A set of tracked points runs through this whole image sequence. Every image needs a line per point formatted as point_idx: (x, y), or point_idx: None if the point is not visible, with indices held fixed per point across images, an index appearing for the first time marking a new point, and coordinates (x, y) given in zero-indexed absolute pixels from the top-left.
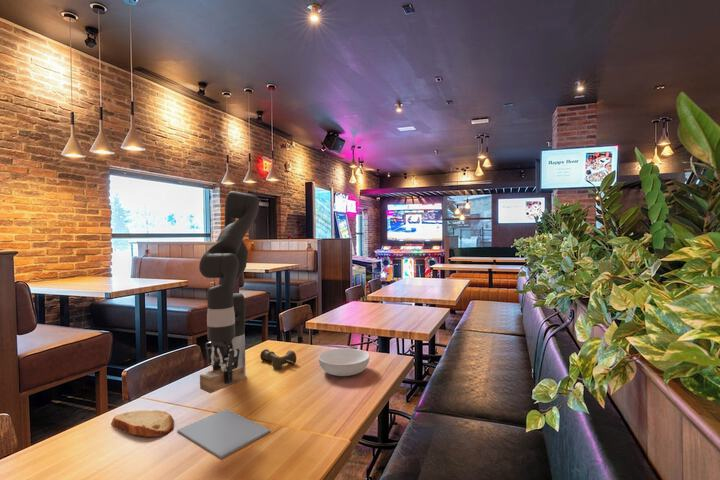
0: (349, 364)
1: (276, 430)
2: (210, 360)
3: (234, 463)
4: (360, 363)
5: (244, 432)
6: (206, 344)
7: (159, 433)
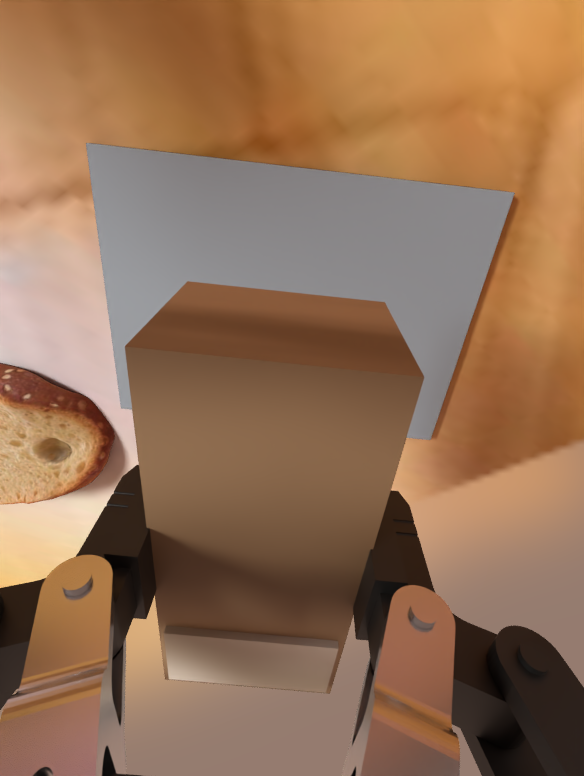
0: None
1: (536, 159)
2: (7, 689)
3: (492, 431)
4: None
5: (397, 284)
6: None
7: (105, 458)
